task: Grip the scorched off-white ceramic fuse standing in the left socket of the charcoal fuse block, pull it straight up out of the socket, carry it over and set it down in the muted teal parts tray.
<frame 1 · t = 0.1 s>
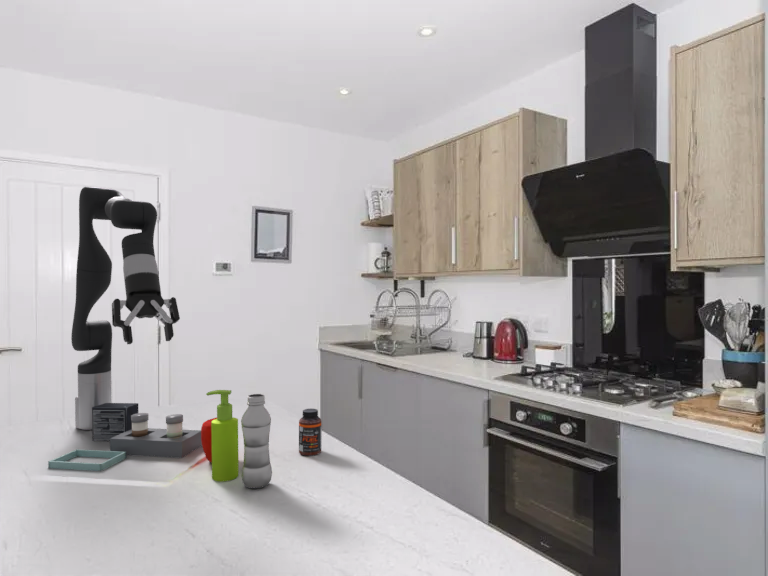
hand: (149, 341, 119), 31 cm above the countertop, tool tilted 20°, fingers open, 8 cm apart
apple: (219, 461, 129), on the countertop
soap dispenser: (223, 477, 119), on the countertop
small box: (116, 442, 146), on the countertop
fuse block: (157, 453, 135), on the countertop
supplement bottle: (310, 453, 135), on the countertop
tray: (88, 466, 126), on the countertop
plastic bottle: (257, 487, 113), on the countertop
blown fuse: (140, 448, 136), point 1 cm above the countertop, touching fuse block
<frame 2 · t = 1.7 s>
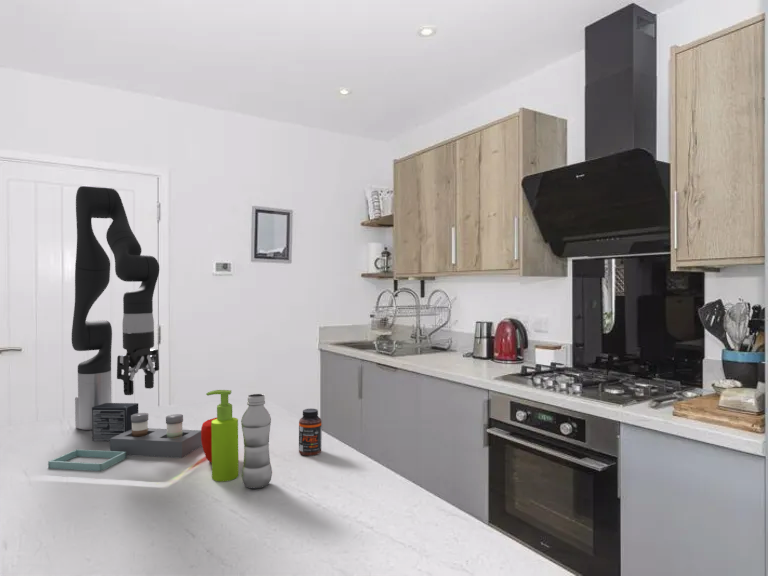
hand: (139, 391, 136), 16 cm above the countertop, tool pointing down, fingers open, 8 cm apart
nothing on the countertop moved.
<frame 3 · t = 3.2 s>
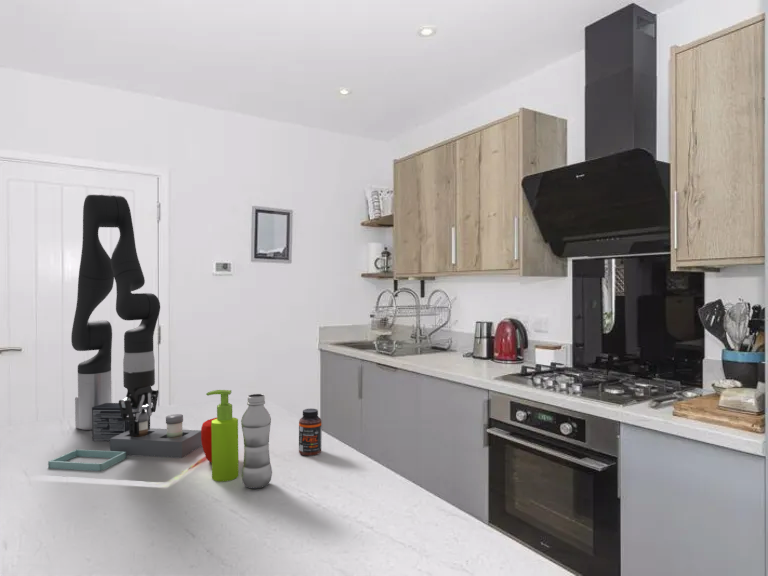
hand: (139, 432, 136), 5 cm above the countertop, tool pointing down, fingers closed on blown fuse, 4 cm apart
blown fuse: (140, 448, 136), point 1 cm above the countertop, touching fuse block, gripper
everything else where it was.
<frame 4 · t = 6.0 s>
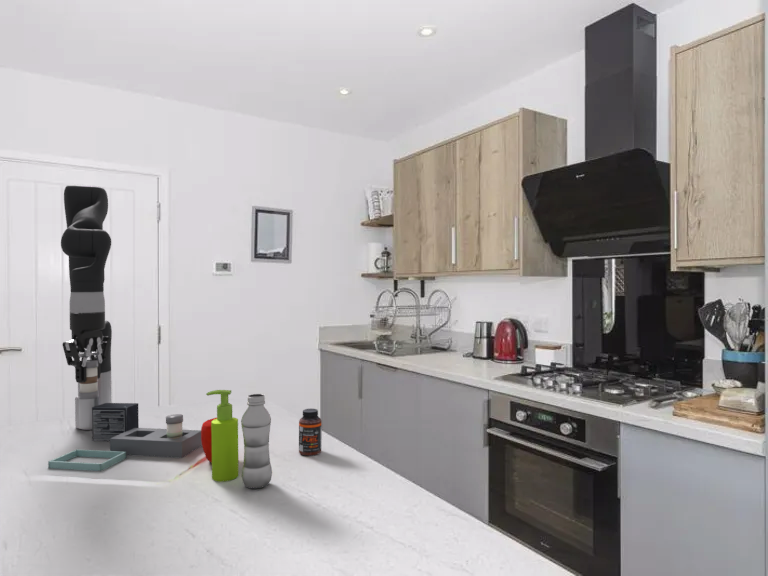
hand: (88, 380, 126), 21 cm above the countertop, tool pointing down, fingers closed on blown fuse, 4 cm apart
blown fuse: (88, 397, 126), point 17 cm above the countertop, touching gripper
everything else where it was.
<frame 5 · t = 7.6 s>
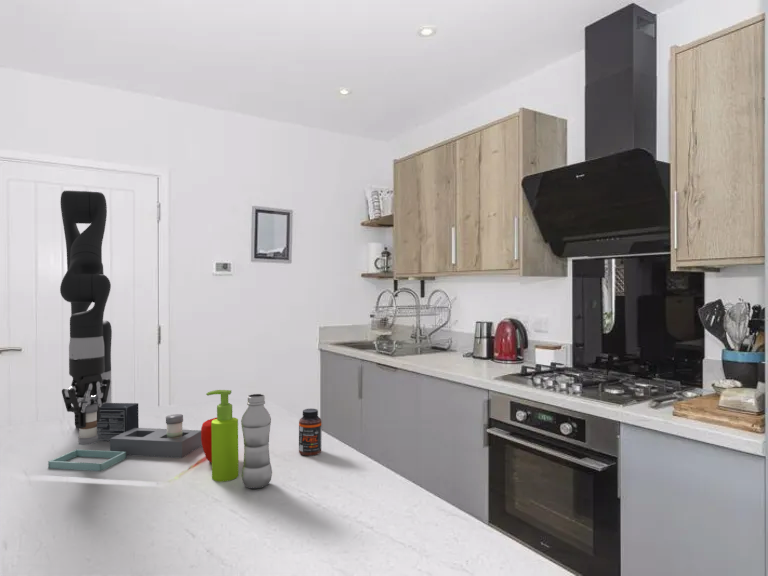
hand: (87, 424, 126), 10 cm above the countertop, tool pointing down, fingers closed on blown fuse, 4 cm apart
blown fuse: (88, 442, 126), point 6 cm above the countertop, touching gripper
everything else where it was.
when the fingers open (6 cm above the countertop, at t = 8.8 s): blown fuse stays where it is, resting on tray.
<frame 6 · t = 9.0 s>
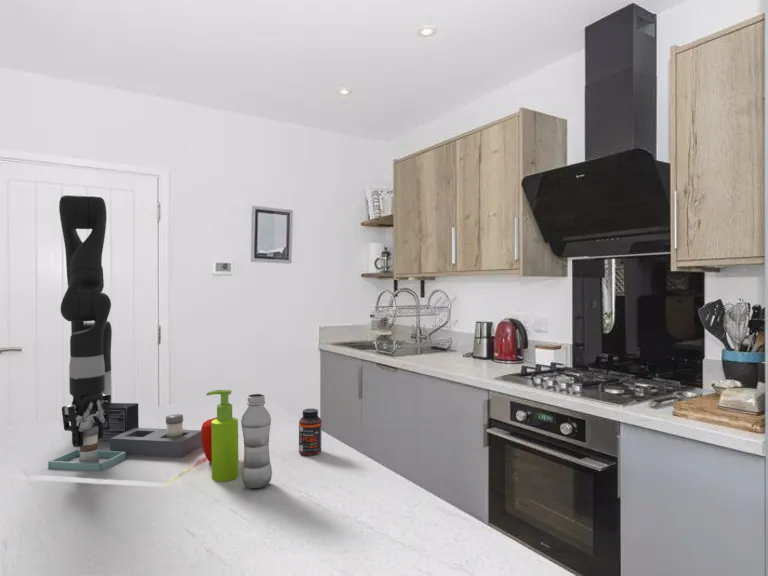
hand: (88, 441, 126), 6 cm above the countertop, tool pointing down, fingers open, 6 cm apart
blown fuse: (89, 464, 126), resting on tray
everything else where it was.
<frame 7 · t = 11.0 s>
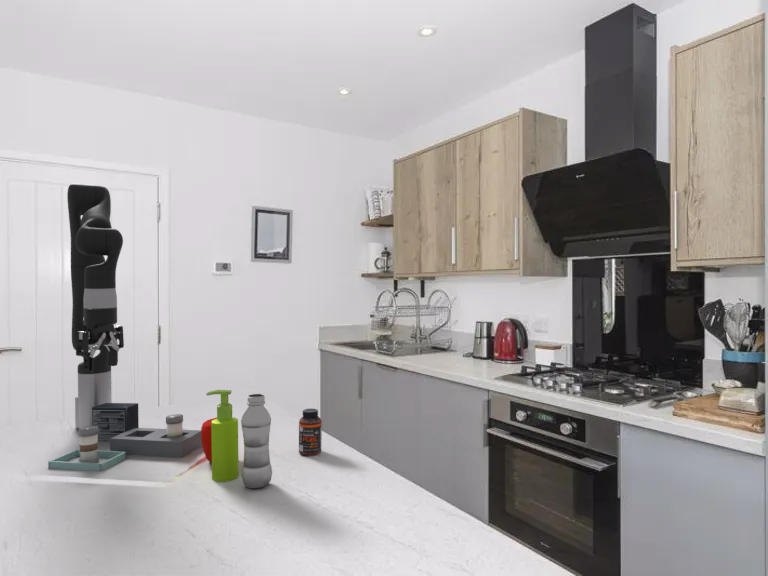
hand: (101, 368, 132), 23 cm above the countertop, tool pointing down, fingers open, 8 cm apart
nothing on the countertop moved.
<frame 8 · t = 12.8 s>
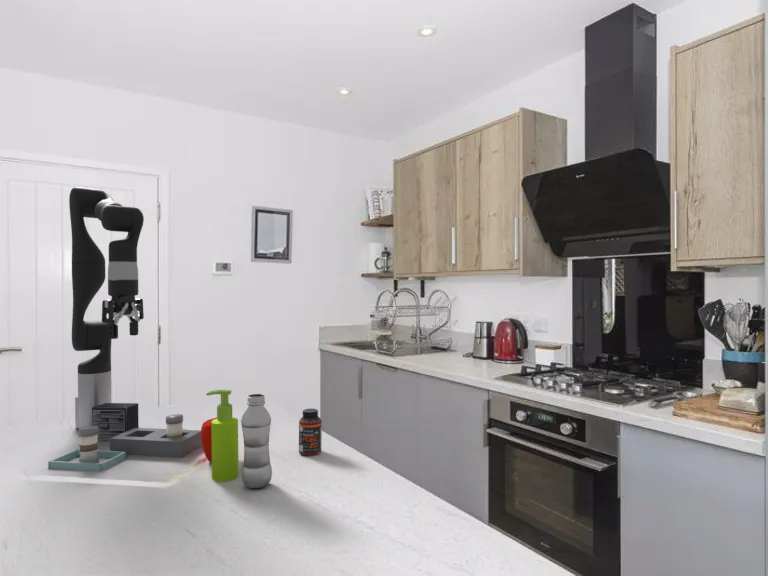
hand: (123, 336, 142), 30 cm above the countertop, tool pointing down, fingers open, 8 cm apart
nothing on the countertop moved.
at the end: blown fuse inside the target area on the tray (0.2 cm from its centre), point 0.5 cm above the tray's base; the gripper is holding nothing; blown fuse moved 12.8 cm from its start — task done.
